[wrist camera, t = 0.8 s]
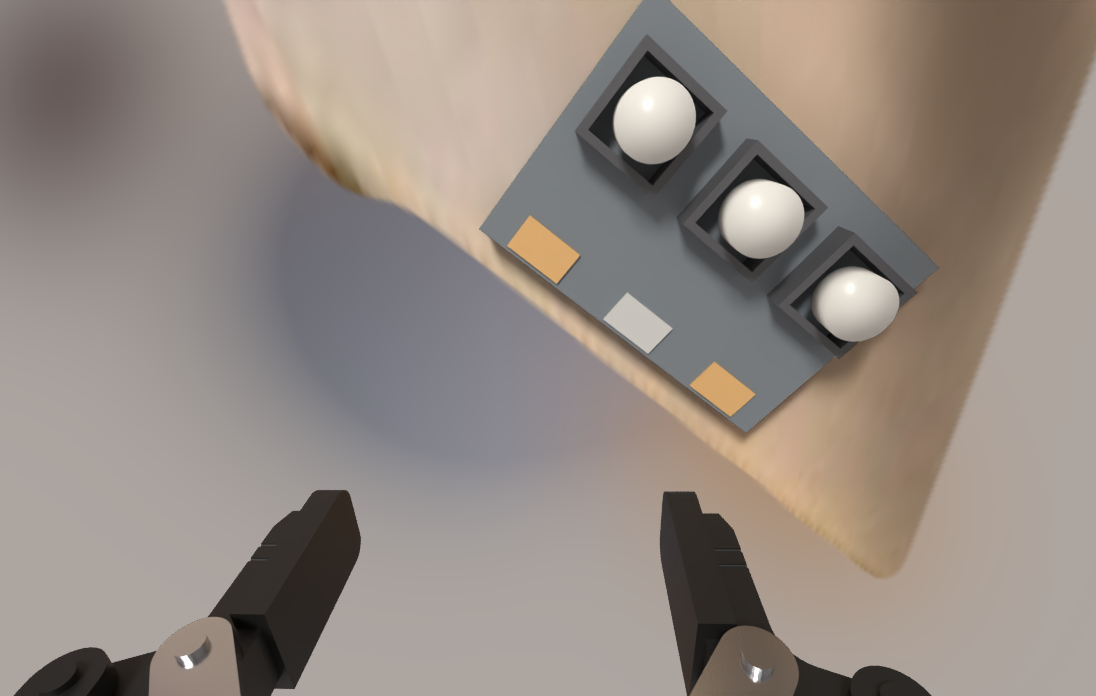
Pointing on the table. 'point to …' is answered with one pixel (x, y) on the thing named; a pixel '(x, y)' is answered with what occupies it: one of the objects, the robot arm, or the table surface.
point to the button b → (761, 218)
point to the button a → (654, 120)
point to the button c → (854, 303)
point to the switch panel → (695, 225)
